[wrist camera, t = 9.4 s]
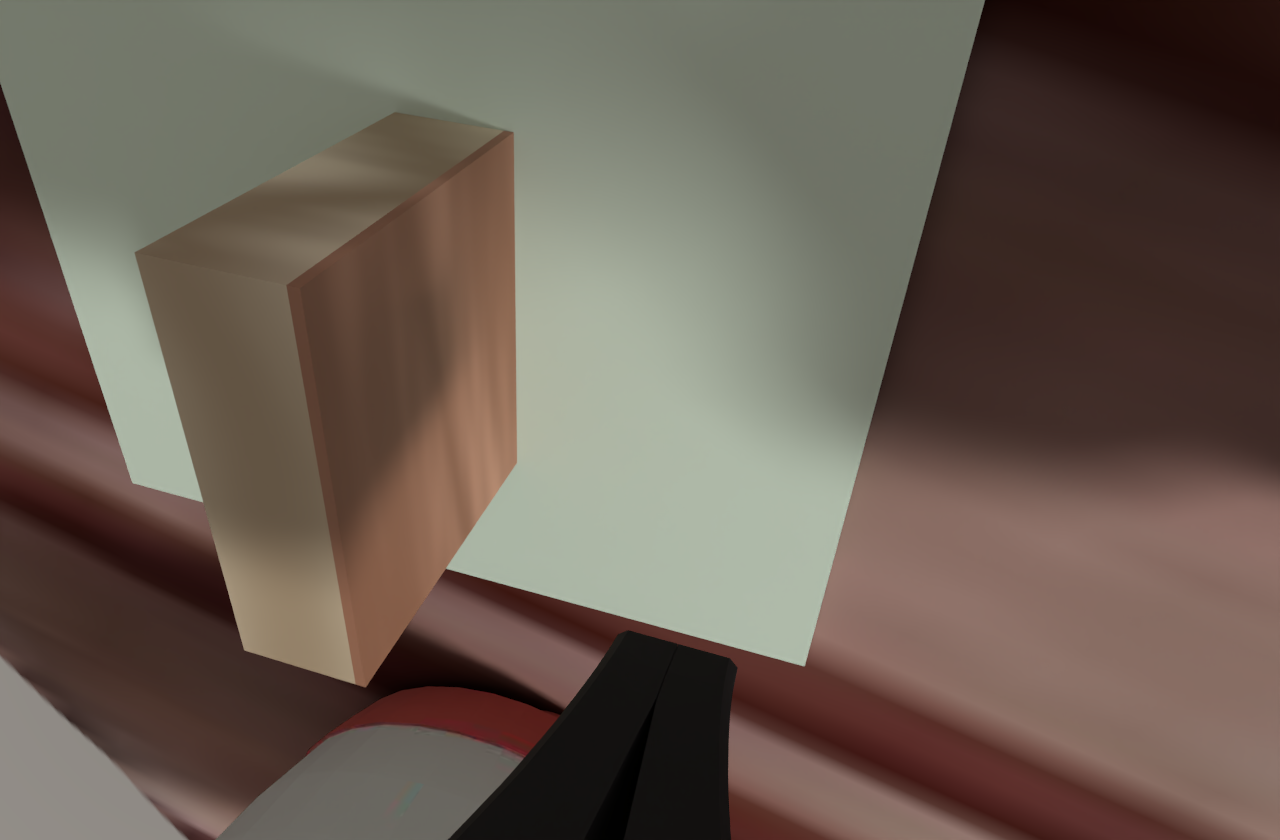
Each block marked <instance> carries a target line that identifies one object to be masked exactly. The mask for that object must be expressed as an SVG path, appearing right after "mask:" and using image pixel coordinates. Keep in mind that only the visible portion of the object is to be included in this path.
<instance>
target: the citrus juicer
mask: <svg viewBox="0 0 1280 840" xmlns="http://www.w3.org/2000/svg"><path fill="white" fill-rule="evenodd" d="M559 716H560V715H559V714H556V713H553V712H549V711H542V710H539V709H537V708H535V707H532V706H530V705H528V704H525V703H522V702H518V701H515V700H512V699H509V698H506V697H503V696H499V695H496V694H493V693H488V692H482V691H477V690H471V689H466V688H460V687H434V686H427V687H420V688H414V689H407V690H401V691H399V692H396V693H394V694H391V695H389V696H386V697H384V698H381V699H379V700H378V701H376V702H375V703H373V704H371V705H370V706H368V707H367V708H365V709H364V710H362V711H360V712H359V713H357V714H356V715H354V716H353V717H351V718H350V719H348V720H347V721H346V722H344V723H343V724H341V725H340V726H338V727H337V728H336V729H334V730H333V731H331V732H330V733H328V734H327V735H326V736H324V737H323V738H322V739H321V740H320V741H318V742H317V743H316V744H315V745H313V746H312V747H311V748H310V749H309V750H308V752H307V754H306V756H305V758H303V759H302V760H301V761H300V762H299V763H297V764H296V765H295V766H294V767H293V768H291V769H290V770H289V771H288V772H287V773H286V774H284V775H283V776H282V777H281V778H280V779H278V780H277V781H276V782H275V783H274V784H272V785H271V786H270V787H269V788H268V789H266V790H265V791H264V792H263V793H262V794H261V795H259V796H258V797H257V798H256V799H255V800H254V801H253V802H252V803H251V804H250V805H249V806H248V807H247V808H246V809H245V810H244V811H243V812H242V813H241V814H240V815H239V816H238V817H237V818H236V819H235V820H234V821H233V822H232V823H231V825H230V826H229V827H228V828H227V829H226V830H225V831H224V832H223V833H222V834H221V835H220V836H219V837H218V838H217V839H216V840H448V839H449V838H450V837H451V836H452V835H453V834H454V833H455V832H456V831H457V830H458V828H459V827H460V826H461V825H462V824H463V823H464V822H465V821H466V820H467V819H468V818H469V817H470V816H471V815H472V814H473V813H474V812H475V811H476V810H477V809H478V808H479V807H480V806H481V804H482V803H483V802H484V801H485V800H486V799H487V798H488V797H489V796H490V795H491V794H492V793H493V792H494V791H495V790H496V789H497V788H498V787H499V786H500V785H501V784H502V782H503V781H504V780H505V779H506V778H507V777H508V776H509V775H510V774H511V773H512V771H513V770H514V769H515V768H516V767H517V766H518V764H519V763H520V762H521V761H522V760H523V759H524V757H525V756H526V755H527V754H528V753H529V752H530V750H531V749H532V748H533V747H534V746H535V745H536V743H537V742H538V741H539V740H540V739H541V738H542V737H543V735H544V734H545V733H546V732H547V731H548V730H549V728H550V727H551V726H552V725H553V724H554V722H555V721H556V720H557V719H558V717H559Z"/></svg>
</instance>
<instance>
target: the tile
mask: <svg viewBox="0 0 1280 840" xmlns="http://www.w3.org/2000/svg"><path fill="white" fill-rule="evenodd" d="M134 253H135V257H136V260H137V264H138V268H139V271H140V275H141V278H142V282H143V286H144V289H145V293H146V297H147V300H148V304H149V307H150V311H151V315H152V318H153V322H154V326H155V329H156V333H157V336H158V340H159V344H160V347H161V351H162V355H163V358H164V362H165V365H166V369H167V373H168V376H169V380H170V383H171V387H172V391H173V394H174V398H175V402H176V405H177V409H178V412H179V416H180V420H181V423H182V427H183V431H184V434H185V438H186V441H187V445H188V449H189V452H190V456H191V460H192V463H193V467H194V470H195V474H196V478H197V481H198V485H199V488H200V492H201V496H202V499H203V503H204V507H205V510H206V514H207V517H208V521H209V525H210V528H211V532H212V536H213V539H214V543H215V546H216V550H217V554H218V557H219V561H220V565H221V568H222V572H223V575H224V579H225V583H226V586H227V590H228V593H229V597H230V601H231V604H232V608H233V612H234V615H235V619H236V622H237V626H238V630H239V633H240V637H241V641H242V644H243V648H244V650H245V651H248V652H251V653H255V654H258V655H261V656H264V657H268V658H271V659H274V660H277V661H281V662H284V663H287V664H291V665H294V666H297V667H300V668H304V669H307V670H310V671H313V672H317V673H320V674H323V675H326V676H330V677H333V678H336V679H340V680H343V681H346V682H349V683H353V684H356V685H359V686H362V687H366V686H367V685H368V683H369V682H370V680H371V679H372V677H373V676H374V674H375V673H376V671H377V670H378V668H379V667H380V665H381V664H382V662H383V661H384V659H385V658H386V657H387V655H388V654H389V652H390V651H391V649H392V648H393V646H394V645H395V643H396V642H397V640H398V639H399V637H400V636H401V634H402V633H403V631H404V630H405V628H406V627H407V625H408V624H409V622H410V621H411V619H412V618H413V616H414V615H415V613H416V612H417V611H418V609H419V608H420V606H421V605H422V603H423V602H424V600H425V599H426V597H427V596H428V594H429V593H430V591H431V590H432V588H433V587H434V585H435V584H436V582H437V581H438V579H439V578H440V576H441V575H442V573H443V572H444V570H445V569H446V567H447V566H448V564H449V563H450V562H451V560H452V559H453V557H454V556H455V554H456V553H457V551H458V550H459V548H460V547H461V545H462V544H463V542H464V541H465V539H466V538H467V536H468V535H469V533H470V532H471V530H472V529H473V527H474V526H475V524H476V523H477V521H478V520H479V518H480V517H481V515H482V514H483V513H484V511H485V510H486V508H487V507H488V505H489V504H490V502H491V501H492V499H493V498H494V496H495V495H496V493H497V492H498V490H499V489H500V487H501V486H502V484H503V483H504V481H505V480H506V478H507V477H508V475H509V474H510V472H511V471H512V469H513V468H514V467H515V465H516V464H517V405H516V306H515V206H514V132H509V131H503V130H497V129H491V128H485V127H479V126H473V125H467V124H462V123H456V122H450V121H444V120H438V119H432V118H426V117H420V116H414V115H409V114H403V113H397V112H394V113H392V114H390V115H389V116H387V117H385V118H383V119H381V120H379V121H377V122H376V123H374V124H372V125H370V126H368V127H366V128H364V129H363V130H361V131H359V132H357V133H355V134H353V135H351V136H350V137H348V138H346V139H344V140H342V141H340V142H338V143H337V144H335V145H333V146H331V147H329V148H327V149H325V150H324V151H322V152H320V153H318V154H316V155H314V156H312V157H311V158H309V159H307V160H305V161H303V162H301V163H299V164H298V165H296V166H294V167H292V168H290V169H288V170H286V171H285V172H283V173H281V174H279V175H277V176H275V177H274V178H272V179H270V180H268V181H266V182H264V183H262V184H261V185H259V186H257V187H255V188H253V189H251V190H249V191H248V192H246V193H244V194H242V195H240V196H238V197H236V198H235V199H233V200H231V201H229V202H227V203H225V204H223V205H222V206H220V207H218V208H216V209H214V210H212V211H210V212H209V213H207V214H205V215H203V216H201V217H199V218H197V219H196V220H194V221H192V222H190V223H188V224H186V225H184V226H183V227H181V228H179V229H177V230H175V231H173V232H171V233H170V234H168V235H166V236H164V237H162V238H160V239H158V240H157V241H155V242H153V243H151V244H149V245H147V246H145V247H144V248H142V249H140V250H138V251H136V252H134Z"/></svg>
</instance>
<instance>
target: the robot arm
mask: <svg viewBox="0 0 1280 840" xmlns="http://www.w3.org/2000/svg"><path fill="white" fill-rule="evenodd" d="M677 645H678V647H677ZM736 673H737V667H736V665H735V664H734V663H733V662H732V661H731V659H730V658H727V657H723V656H719V655H716V654H712V653H708V652H705V651H701V650H698V649H694V648H690V647H687V646H683V645H679V644H676V643H672V642H668V641H665V640H661V639H658V638H654V637H650V636H647V635H643V634H639V633H636V632H632V631H629V630H628V631H625V632H623V633H620V634H618V636H617V637H616V639H615V640H614V642H613V644H612V645H611V647H610V648H609V650H608V651H607V653H606V654H605V656H604V657H603V659H602V660H601V662H600V663H599V665H598V666H597V667H596V669H595V670H594V672H593V673H592V675H591V676H590V677H589V679H588V680H587V681H586V683H585V684H584V685H583V687H582V688H581V689H580V691H579V692H578V693H577V695H576V696H575V697H574V698H573V700H572V701H571V702H570V704H569V705H568V706H567V707H566V709H565V710H564V711H563V712H562V714H561V715H560V716H559V717H558V719H557V720H556V721H555V722H554V724H553V725H552V726H551V727H550V728H549V730H548V731H547V732H546V733H545V734H544V735H543V737H542V738H541V739H540V740H539V741H538V742H537V743H536V745H535V746H534V747H533V748H532V749H531V750H530V752H529V753H528V754H527V755H526V756H525V757H524V759H523V760H522V761H521V762H520V763H519V764H518V766H517V767H516V768H515V769H514V770H513V771H512V773H511V774H510V775H509V776H508V777H507V778H506V779H505V780H504V781H503V782H502V784H501V785H500V786H499V787H498V788H497V789H496V790H495V791H494V792H493V793H492V794H491V795H490V796H489V797H488V798H487V799H486V800H485V801H484V802H483V803H482V804H481V806H480V807H479V808H478V809H477V810H476V811H475V812H474V813H473V814H472V815H471V816H470V817H469V818H468V819H467V820H466V821H465V822H464V823H463V824H462V825H461V826H460V827H459V828H458V830H457V831H456V832H455V833H454V834H453V835H452V836H451V837H450V838H449V839H448V840H731V834H730V817H729V797H728V740H729V721H730V710H731V700H732V693H733V687H734V682H735V678H736Z"/></svg>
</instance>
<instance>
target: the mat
mask: <svg viewBox="0 0 1280 840" xmlns="http://www.w3.org/2000/svg"><path fill="white" fill-rule="evenodd" d="M984 2H985V0H0V84H1V87H2V90H3V93H4V96H5V99H6V102H7V105H8V108H9V111H10V114H11V117H12V120H13V123H14V126H15V129H16V132H17V135H18V138H19V141H20V144H21V147H22V150H23V153H24V156H25V159H26V162H27V165H28V168H29V171H30V174H31V177H32V180H33V183H34V186H35V189H36V192H37V196H38V199H39V202H40V205H41V208H42V211H43V214H44V217H45V220H46V223H47V226H48V229H49V232H50V235H51V238H52V241H53V244H54V247H55V250H56V253H57V256H58V259H59V262H60V265H61V268H62V271H63V274H64V277H65V280H66V283H67V286H68V289H69V292H70V295H71V298H72V301H73V304H74V307H75V310H76V313H77V316H78V319H79V323H80V326H81V329H82V332H83V335H84V338H85V341H86V344H87V347H88V350H89V353H90V356H91V359H92V362H93V365H94V368H95V371H96V374H97V377H98V380H99V383H100V386H101V389H102V392H103V395H104V398H105V401H106V404H107V407H108V410H109V413H110V416H111V419H112V422H113V425H114V428H115V431H116V434H117V437H118V440H119V443H120V447H121V450H122V453H123V456H124V459H125V462H126V465H127V468H128V471H129V474H130V477H131V480H132V483H134V484H138V485H142V486H145V487H149V488H153V489H156V490H160V491H164V492H167V493H171V494H175V495H178V496H182V497H186V498H189V499H193V500H197V501H200V502H203V499H202V496H201V492H200V488H199V485H198V481H197V478H196V474H195V470H194V467H193V463H192V460H191V456H190V452H189V449H188V445H187V441H186V438H185V434H184V431H183V427H182V423H181V420H180V416H179V412H178V409H177V405H176V402H175V398H174V394H173V391H172V387H171V383H170V380H169V376H168V373H167V369H166V365H165V362H164V358H163V355H162V351H161V347H160V344H159V340H158V336H157V333H156V329H155V326H154V322H153V318H152V315H151V311H150V307H149V304H148V300H147V297H146V293H145V289H144V286H143V282H142V278H141V275H140V271H139V268H138V264H137V260H136V257H135V253H134V252H136V251H138V250H140V249H142V248H144V247H145V246H147V245H149V244H151V243H153V242H155V241H157V240H158V239H160V238H162V237H164V236H166V235H168V234H170V233H171V232H173V231H175V230H177V229H179V228H181V227H183V226H184V225H186V224H188V223H190V222H192V221H194V220H196V219H197V218H199V217H201V216H203V215H205V214H207V213H209V212H210V211H212V210H214V209H216V208H218V207H220V206H222V205H223V204H225V203H227V202H229V201H231V200H233V199H235V198H236V197H238V196H240V195H242V194H244V193H246V192H248V191H249V190H251V189H253V188H255V187H257V186H259V185H261V184H262V183H264V182H266V181H268V180H270V179H272V178H274V177H275V176H277V175H279V174H281V173H283V172H285V171H286V170H288V169H290V168H292V167H294V166H296V165H298V164H299V163H301V162H303V161H305V160H307V159H309V158H311V157H312V156H314V155H316V154H318V153H320V152H322V151H324V150H325V149H327V148H329V147H331V146H333V145H335V144H337V143H338V142H340V141H342V140H344V139H346V138H348V137H350V136H351V135H353V134H355V133H357V132H359V131H361V130H363V129H364V128H366V127H368V126H370V125H372V124H374V123H376V122H377V121H379V120H381V119H383V118H385V117H387V116H389V115H390V114H392V113H394V112H397V113H403V114H409V115H414V116H420V117H426V118H432V119H438V120H444V121H450V122H456V123H462V124H467V125H473V126H479V127H485V128H491V129H497V130H503V131H509V132H514V206H515V306H516V405H517V464H516V465H515V467H514V468H513V469H512V471H511V472H510V474H509V475H508V477H507V478H506V480H505V481H504V483H503V484H502V486H501V487H500V489H499V490H498V492H497V493H496V495H495V496H494V498H493V499H492V501H491V502H490V504H489V505H488V507H487V508H486V510H485V511H484V513H483V514H482V515H481V517H480V518H479V520H478V521H477V523H476V524H475V526H474V527H473V529H472V530H471V532H470V533H469V535H468V536H467V538H466V539H465V541H464V542H463V544H462V545H461V547H460V548H459V550H458V551H457V553H456V554H455V556H454V557H453V559H452V560H451V562H450V563H449V564H448V566H447V567H446V569H450V570H453V571H457V572H461V573H464V574H468V575H472V576H475V577H479V578H483V579H486V580H490V581H494V582H497V583H501V584H505V585H508V586H512V587H516V588H519V589H523V590H527V591H530V592H534V593H538V594H541V595H545V596H549V597H552V598H556V599H560V600H563V601H567V602H571V603H574V604H578V605H582V606H585V607H589V608H593V609H596V610H600V611H604V612H607V613H611V614H615V615H618V616H622V617H626V618H629V619H633V620H637V621H640V622H644V623H647V624H651V625H655V626H658V627H662V628H666V629H669V630H673V631H677V632H680V633H684V634H688V635H691V636H695V637H699V638H702V639H706V640H710V641H713V642H717V643H721V644H724V645H728V646H732V647H735V648H739V649H743V650H746V651H750V652H754V653H757V654H761V655H765V656H768V657H772V658H776V659H779V660H783V661H787V662H790V663H794V664H798V665H801V666H805V663H806V659H807V656H808V652H809V648H810V644H811V641H812V637H813V633H814V630H815V626H816V622H817V619H818V615H819V611H820V608H821V604H822V600H823V596H824V593H825V589H826V585H827V582H828V578H829V574H830V571H831V567H832V563H833V560H834V556H835V552H836V548H837V545H838V541H839V537H840V534H841V530H842V526H843V523H844V519H845V515H846V512H847V508H848V504H849V500H850V497H851V493H852V489H853V486H854V482H855V478H856V475H857V471H858V467H859V464H860V460H861V456H862V452H863V449H864V445H865V441H866V438H867V434H868V430H869V427H870V423H871V419H872V416H873V412H874V408H875V404H876V401H877V397H878V393H879V390H880V386H881V382H882V379H883V375H884V371H885V368H886V364H887V360H888V356H889V353H890V349H891V345H892V342H893V338H894V334H895V331H896V327H897V323H898V320H899V316H900V312H901V308H902V305H903V301H904V297H905V294H906V290H907V286H908V283H909V279H910V275H911V272H912V268H913V264H914V260H915V257H916V253H917V249H918V246H919V242H920V238H921V235H922V231H923V227H924V224H925V220H926V216H927V212H928V209H929V205H930V201H931V198H932V194H933V190H934V187H935V183H936V179H937V176H938V172H939V168H940V164H941V161H942V157H943V153H944V150H945V146H946V142H947V139H948V135H949V131H950V128H951V124H952V120H953V116H954V113H955V109H956V105H957V102H958V98H959V94H960V91H961V87H962V83H963V80H964V76H965V72H966V68H967V65H968V61H969V57H970V54H971V50H972V46H973V43H974V39H975V35H976V32H977V28H978V24H979V20H980V17H981V13H982V9H983V6H984Z"/></svg>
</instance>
